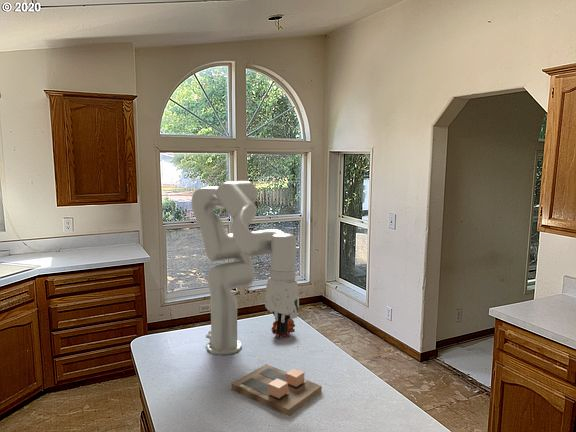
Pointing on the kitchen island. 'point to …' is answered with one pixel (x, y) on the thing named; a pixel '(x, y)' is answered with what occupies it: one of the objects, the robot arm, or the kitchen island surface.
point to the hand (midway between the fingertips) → (282, 332)
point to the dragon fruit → (290, 329)
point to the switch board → (257, 390)
